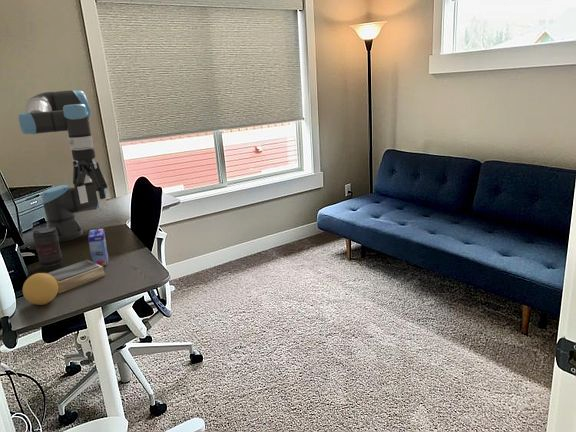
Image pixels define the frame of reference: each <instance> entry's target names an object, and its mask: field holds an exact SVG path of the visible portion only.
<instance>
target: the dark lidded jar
mask: <svg viewBox="0 0 576 432" xmlns="http://www.w3.org/2000/svg"><path fill="white" fill-rule="evenodd" d="M32 237H33V241H34V246H35V247H36V248H35V251H36V252H35V253H37V257H38V262H39V263H40V266H42V269H43V270H53V269H57V268H59V267H61V266H62V265H63V253H62V250H61V247H60V246H61V245H60V242H59V238H58V234H57V231H56V228H55V227H47V226H43V227H38V228H36V229H34V230H33V231H32Z"/></svg>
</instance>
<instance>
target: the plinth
mask: <svg viewBox="0 0 576 432" xmlns="http://www.w3.org/2000/svg"><path fill="white" fill-rule="evenodd" d="M47 273H48V274H51V275H52V276H53V277H54V278H55V279H56V280H57V281H58V283H59V286H58V292H57V293H59V294H61V293H64V292H66V291H67V292H68V291H69V290H72V289H74V288H77V287H80V286H82V285H85V284H88V283H90V282H92V281H95V280H98V279H100V278H103V277H106V276H105V275H106V273H105V269H104V266H100V265H98V264H96V263H94V262H92V260H89V259H84V260H82V261H79V262H76V263H73V264H70V265H67V266H65V267H62V268H58V269H56V270H53V271H50V272H47Z"/></svg>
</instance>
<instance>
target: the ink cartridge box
mask: <svg viewBox="0 0 576 432" xmlns="http://www.w3.org/2000/svg"><path fill="white" fill-rule="evenodd" d="M105 234H106V233H105V229H104V228H100V225H98V226H97V228H96V229H91V230H90V229H89V232H88V235H87V236H88V238H87V239H88V245H89V251H90V256H91V262H94V263H96V264H98V265H100V266H103V267H104V266H108V263H109V254H108V247H107V240H106V235H105Z"/></svg>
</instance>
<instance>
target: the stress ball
mask: <svg viewBox="0 0 576 432" xmlns="http://www.w3.org/2000/svg"><path fill="white" fill-rule="evenodd" d="M48 273H49V272H36V273H33V274H32V275H30V276H29V277H28V278H27V279H26V280H25V281H24V283H23V286H22V294H23V297H24V298H25V300H27V302H29V303H30V304H33V305H40V306H44V305H48V304H49V303H50V302H51V301H53V300H54V299H55V298H56V297H57V294H58V293H59V292H58V286H59V283H58V281H57V280H56V279H55V278H54V277H53V276H52V275H51V274H48Z"/></svg>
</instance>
